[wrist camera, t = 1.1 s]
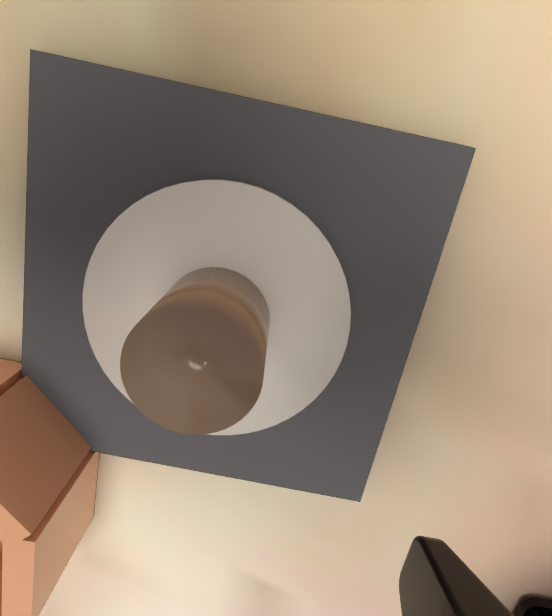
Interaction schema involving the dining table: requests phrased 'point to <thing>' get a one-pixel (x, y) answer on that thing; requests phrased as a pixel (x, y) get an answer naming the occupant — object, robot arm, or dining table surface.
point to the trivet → (256, 171)
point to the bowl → (38, 493)
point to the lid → (216, 307)
